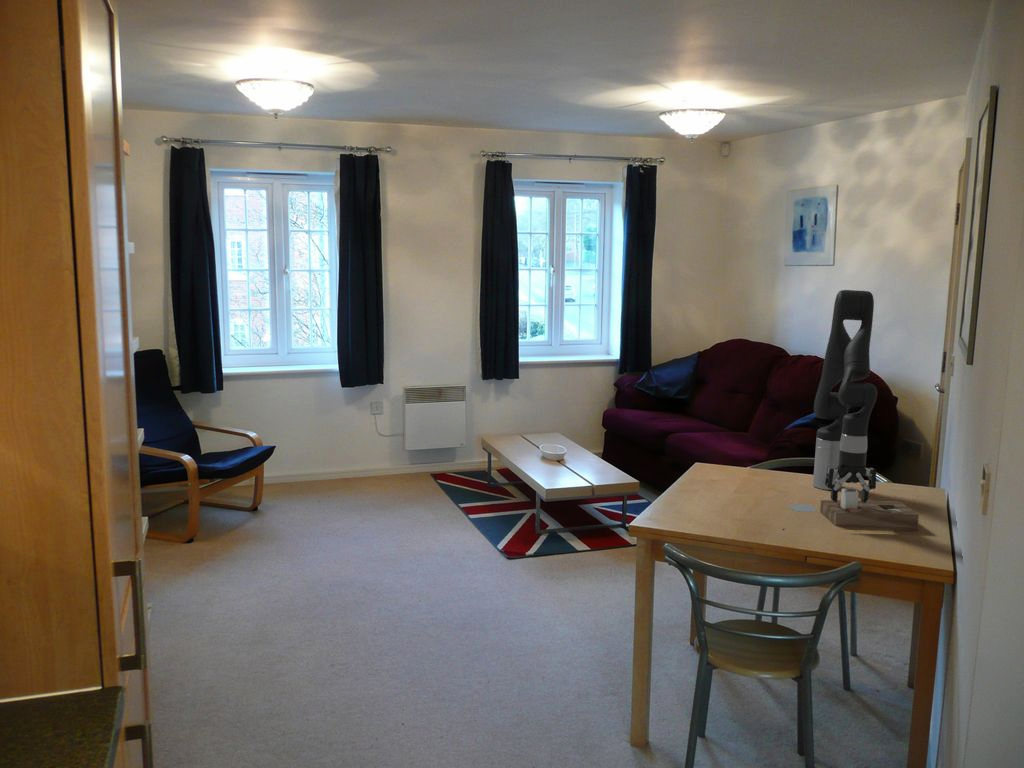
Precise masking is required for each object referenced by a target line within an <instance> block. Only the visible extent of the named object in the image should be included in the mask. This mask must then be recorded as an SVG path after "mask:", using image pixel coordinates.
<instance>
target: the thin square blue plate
mask: <svg viewBox="0 0 1024 768" xmlns="http://www.w3.org/2000/svg"><path fill="white" fill-rule="evenodd" d="M788 506H789V507H790V508H791V509H792V510H793V511H794V512H803V513H804V512H805V513H807V512H808V513H811V512H812V513H818V512H819V510H818V511H817V509H815V508H814V507H813V506H812V505H811V504H788Z"/></svg>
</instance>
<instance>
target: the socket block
mask: <svg viewBox="0 0 1024 768" xmlns="http://www.w3.org/2000/svg"><path fill="white" fill-rule="evenodd" d="M819 513H820V514H821V515H822V516H823V517H824V518H826V519H827V520H828V521H829V522H830V523H831V524H832V525H834V526H835V527H869V528H870V527H872V528H876V527H877V528H878V527H879V528H890V529H892V530H893V531H907V532H908V531H910V532H913V531H914V532H916V531H917V532H918V528H919V516H920V513H917V512H916V511H914V510H913V509H911V508H910V507H908V506H907V505H905V504H904V503H903V502H901V501H897V500H895V501H892V500H867V501H866V503H863V502H861V500H858V506H857V508H847V509H843V508H842V507H841V499H837V502H833V500H832V499H820V510H819Z"/></svg>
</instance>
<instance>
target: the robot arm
mask: <svg viewBox="0 0 1024 768" xmlns="http://www.w3.org/2000/svg"><path fill="white" fill-rule="evenodd" d="M874 306H875V301H874V295H873V293H872V292H871V291H868V290H853V289H851V290H850V289H842V290H839V291H838V292H837V294H836V296H835V300H834V306H833V313H832V319H831V327H830V334H829V337H828V341H827V342H828V343H827V346H826V349H825V354H824V355H825V356H824V360H823V366H822V371H821V376H820V381H819V384H818V388H817V392H816V394H815V398H814V401H813V402H814V403H813V413H814V415H815V417H816V418H818V419H823V420H834V421H833V422H832V423H831V424H829V425H825V426H823V427H819V428H818V429H817V431H816V438H815V439H816V441H815V453H814V468H813V478H812V479H813V480H812V486H813V487H815V488H817V489H819V490H820V489H821V490H827V491H830V500H833V502H837V500H839V497H838V496H839V490H840V489H841V490H842V486H843V485H844V484H845V483H846V484H851V483H853V484H857V483H858V484H859V485H860V486H861V493H860V494H861V495H860V501H861V502H863V503H866V501H869V494H870V493H869V491H871V490H875V489H876V488H877V470H876V469H875V468H873V467H869V468H866V466H867V452H868V431H869V430H868V428H869V421H870V417H871V414H872V411H873V408H874V406H875V405H876V404H875V403H876V401H877V398H878V389H877V387H876V385H874V384H873V383H869V382H857V381H861V380H862V381H863V380H864V379H867V378H868V377H869V376H870V374H871V373H870V371H871V364H870V363H871V362H870V361H871V360H870V345H871V339H872V332H873V331H872V329H873V321H874V309H875V308H874ZM845 320H846V321H847V320H848V321H861V322H860V323H861V324H860V326H859V329H858V331H857V332H856V334H855V335H854V336H853V337H852V338H851V337H850V335H849V334H848V331H847V330H846V326H845V324H844V321H845ZM840 382H841V384H840V387H839V390H838V392H833V391H832V390H833V388H835V387H836V386H837V385H838V384H839V383H840ZM849 407H861V409H860V410H859V411H857V412H853V413H852V412H851V413H849ZM865 475H867V476H868V484H867V482H866V481H865V479H864V477H865Z"/></svg>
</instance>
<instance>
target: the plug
mask: <svg viewBox="0 0 1024 768" xmlns="http://www.w3.org/2000/svg"><path fill="white" fill-rule="evenodd" d="M840 497H841V498H840V500H841V507H842V508H843V509H847V508H857V506H858V501H859V491H858V490H857V489H856V488H855V487H853V486H851V487H849V486H845V487H844V488H841V495H840Z"/></svg>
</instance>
